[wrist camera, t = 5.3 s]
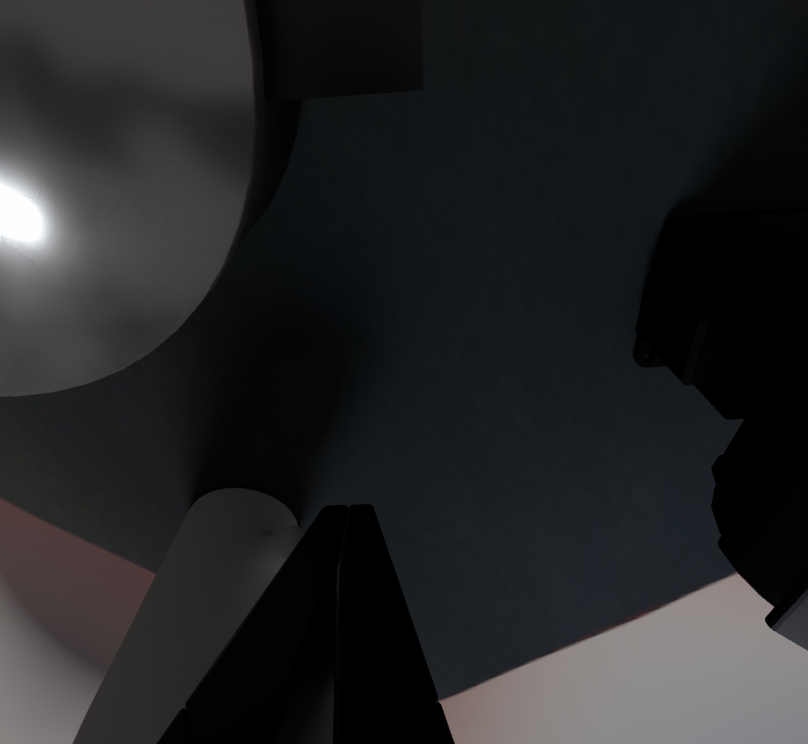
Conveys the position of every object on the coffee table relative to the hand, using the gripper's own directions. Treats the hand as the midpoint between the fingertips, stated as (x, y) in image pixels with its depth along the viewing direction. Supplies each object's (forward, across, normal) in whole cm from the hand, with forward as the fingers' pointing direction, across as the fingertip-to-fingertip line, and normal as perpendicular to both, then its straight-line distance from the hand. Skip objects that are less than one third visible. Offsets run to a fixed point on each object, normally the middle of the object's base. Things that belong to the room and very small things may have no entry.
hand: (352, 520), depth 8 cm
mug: (+13, +8, +14) cm, 21 cm away
